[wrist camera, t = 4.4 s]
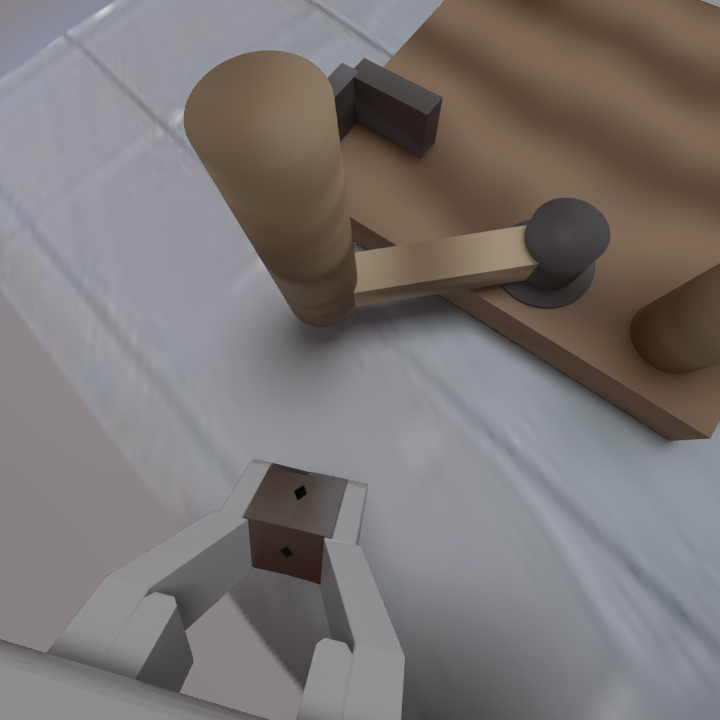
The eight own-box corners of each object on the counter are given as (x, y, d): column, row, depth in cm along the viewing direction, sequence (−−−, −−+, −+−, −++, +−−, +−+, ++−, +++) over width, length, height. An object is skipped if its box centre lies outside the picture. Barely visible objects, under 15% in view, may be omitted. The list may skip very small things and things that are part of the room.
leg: (570, 221, 16) (777, -38, 8) (592, 285, 16) (852, 72, 7) (285, 266, 17) (182, 63, 8) (291, 331, 16) (184, 182, 7)
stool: (499, -30, 24) (597, -431, 13) (850, 111, 20) (1426, -312, 9) (292, 202, 20) (190, -93, 9) (671, 440, 16) (1294, 404, 5)
